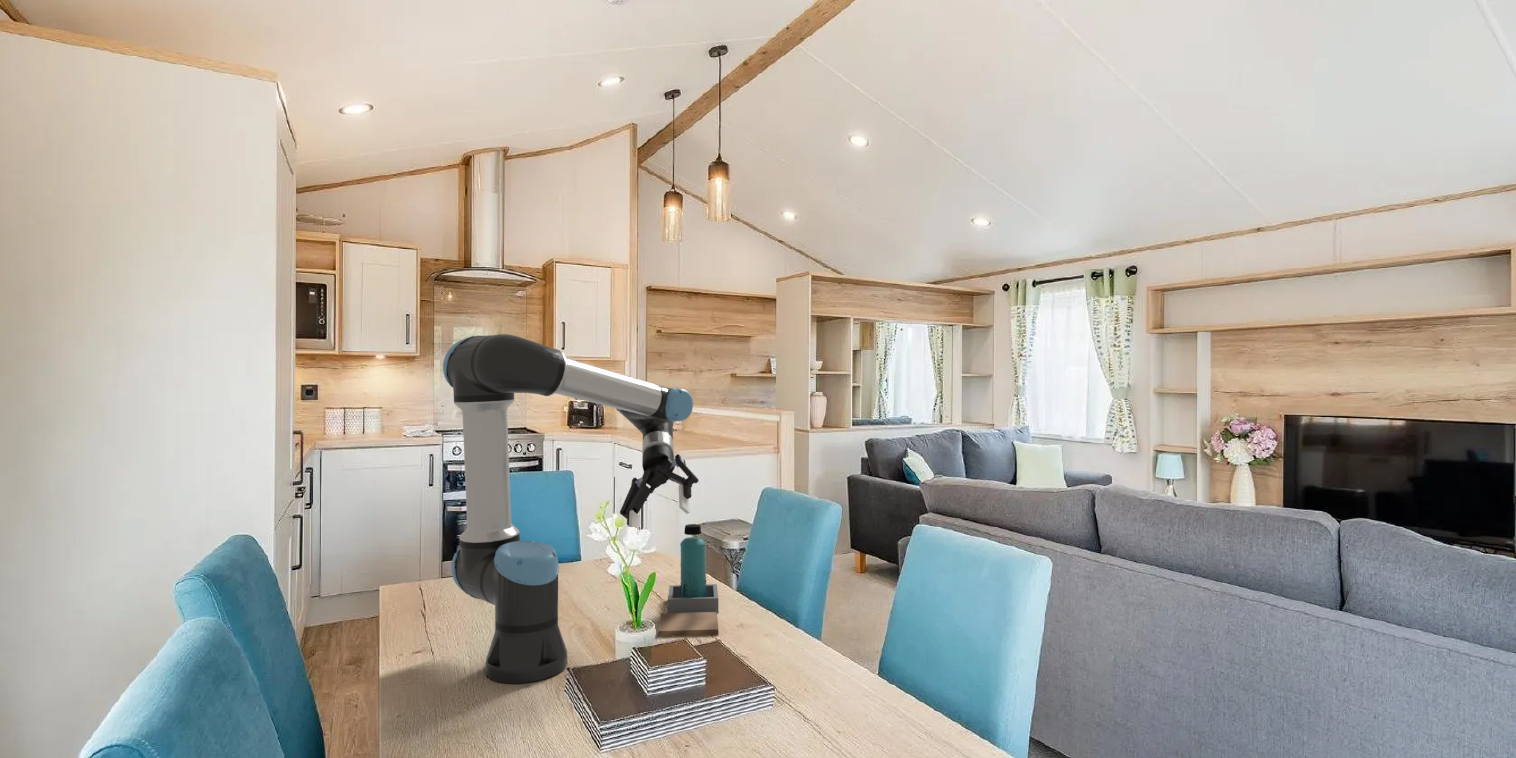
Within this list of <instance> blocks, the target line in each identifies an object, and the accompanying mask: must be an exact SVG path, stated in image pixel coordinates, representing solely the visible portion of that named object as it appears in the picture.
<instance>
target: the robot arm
mask: <svg viewBox="0 0 1516 758" xmlns="http://www.w3.org/2000/svg"><path fill="white" fill-rule="evenodd" d="M442 372H443V376H444V379H445V381H446V382H447V383H448V384H449V386H450V387H451V388H452V392H453V404H454V405H455V406H456V407H457V408H459V410H460V411H461V412H462V433H463V434H462V435H463V436H462V437H463V456H464V461H463V462H464V478H465V479H464V480H465V484H464V485H465V505H466V525H467V526H466V529H465V530H464V531H463V532H462V533H461V535H460V536H459V547H458V549H457V551H456V552H455V553H454V554H453V558H452V561H451V566H450V567H451V568H450V569H451V575H452V579H453V581H454V583H455V584H456V586H457V588H459V589H460V590H461V591H462V592H463V593H465V594H466V595H469V596H470V597H471V598H474V599H477V600H480V601H484V602H486V603H488V604H491V605H494V619H495V620H494V622H495V623H494V633H493V637H492V640H491V643H490V646H489V649H488V652H487V655H486V658H485V672H484V674H485V676H486V675H487V676H488V677H489V678H488V677H487V676H486V677H487V678H488V679H489V680H492V681H495V682H498V683H505V684H525V683H533V682H537V681H542V680H545V679H549V678H551V677H553V676H556V675H558V674H560V673H561V672H563V671H565V669H566V667H567V666H568V651H567V647H566V644H565V641H564V638H563V635H562V632H561V630H560V626H559V573H560V566H559V559H558V553H557V551H556V549H554V547H553V546H551V545H549V544H547V543H545V542H541V541H531V540H521V539H520V537H521V536H520V530H519V529H518V528H517V527H516V526H514V524H513V522H512V503H511V482H510V481H511V479H510V478H511V477H510V455H509V453H510V451H509V433H508V432H509V430H508V408H509V407H510V406H511V405H512V404H513V402H514V401H515V394H531V395H532V394H534V395H540V396H544V397H551V396H553V395H554V394H557V395H561V396H564V397H569V398H573V399H577V400H581V401H585V402H589V403H592V404H596V405H597V404H598V405H600V406H601V405H602V406H606V407H610V408H614V409H616V411H617V412H619V413H620V414H621V415H622V416H623V417H624V418H626V419H627V420H628V421H629V422H630V423H631V424H632V425H633V426H634V427H635V428H636V429H637V430H638V431H639V432H640V433H641V434H642V447H641V448H642V449H641V450H642V452H641V453H642V455H641V456H642V457H641V459H642V460H641V461H642V462H641V463H642V465H641V466H642V471H643V474H642V475H641V476H642V477H640V478H637V477H633V478H632V479H631V483H630V484H631V485H630V488H629V490H628V493H627V495H626V496H625V499H624V502H623V504H622V505H621V508H620V511H619V514H620V515H621V516H622V517H624V518H625V519H626V526H628V528H629V527H635V528H637V529H638V530H639V531H640V515H639V512H640V511H641V509H642V508H643V506H644V504H645V503H646V501H647V500H648V498H649V496H650V494H653V493H654V491H655V490H656V489H657V488H659V487H660V486H662V485H665V484H667V482H668V480H670V481H671V482H673V483H676V484H678V503H679V504H678V505H679V506H678V508H679V509H680V510H682V512H683V513H685V514H686V515H688V514H689V513H691V512H690V499H691V498H692V488H693V485H694V484H698V483H699V478H698V477H697V476H696V475H695V473H693V472H692V470H691V469H689V467H688V466H687V463H686V460H685V459H684V458H683V457H682V456H681V455H680V454H679V453H677V454H676V455H675V454H674V453H675V448H674V423H675V422H683V421H685V420H687V419H688V418H689V417H690V416H691V414H692V412H693V408H694V401H693V397H692V395H691V393H690V392H689V391H688V390H686V389H684V388H678V387H666V386H663V385H660V384H655V383H653V382H650V381H646V380H643V379H639V378H636V377H632V376H630V375H626V374H623V373H619V372H617V371H613V370H610V369H606V368H604V367H600V366H595V365H592V364H589V363H587V362H586V363H585V362H582V361H579V360H575V359H572V358H569V357H566V356H565V354H564V352H563V351H561V350H560V349H557V348H554V347H550V346H547V345H544V344H541V343H539V342H536V341H533V340H531V339H528V338H527V339H526V338H525V337H521V336H517V335H513V334H507V333H503V334H502V333H499V334H492V335H491V334H490V335H488V334H487V335H472V336H469V337H466V338H462V339H460V340H458V341H456V342H455V343H454V344H453V345H452V346H451V347H450V348H449V349H448V350H447V352H446V353H445V355H444V359H443V363H442ZM676 467H677V468H680V470H681V471H682V472H683V473H684V474H685V475H686V476H687V478H685V477H684V476H681V475H679V474H677V473H675V472H674V470H675V468H676ZM649 486H650V487H649Z"/></svg>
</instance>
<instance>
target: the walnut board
mask: <svg viewBox="0 0 1516 758" xmlns="http://www.w3.org/2000/svg"><path fill="white" fill-rule="evenodd" d="M659 617H660V618H659V623H658V624H659V625H658V634H657V635H658V637H660V638H661V637H664V638H665V637H687V636H688V637H690V636H693V637H694V636H718V635H719V622H718V621H719V620H718V613H717V612H694V613H668V612H666V613H665V612H664V613H663V612H662V613H660V616H659Z"/></svg>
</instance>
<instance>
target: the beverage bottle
mask: <svg viewBox="0 0 1516 758" xmlns="http://www.w3.org/2000/svg"><path fill="white" fill-rule="evenodd" d="M701 534H702V528H701V524H698V523H697V524H696V523H690V524H685V526H684V535H687V536H689V537H685V538H684V539H683V540H682V541H681V542H680V544H679V545H680V564H679V565H680V585H681V589H680V592H681V594H680V596H681V597H680V598H697V597H706V596H707V595H706V584H707V571H706V570H707V568H706V567H707V566H706V565H707V564H706V543H707V542H705V540H704V539H703V538H701V537H698V536H697V535H701Z"/></svg>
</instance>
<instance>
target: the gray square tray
mask: <svg viewBox="0 0 1516 758" xmlns="http://www.w3.org/2000/svg"><path fill="white" fill-rule="evenodd" d="M680 589H681V584H672V585H671V584H670V585H669V588H668V594H667V595H668V596H667V613H694V612H717V614H719V592H718V584H717V583H712V584H711V583H709V584H707V583H706V595H707V596H706V597H697V598H680V597H681V596H680V594H681V592H680Z"/></svg>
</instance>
